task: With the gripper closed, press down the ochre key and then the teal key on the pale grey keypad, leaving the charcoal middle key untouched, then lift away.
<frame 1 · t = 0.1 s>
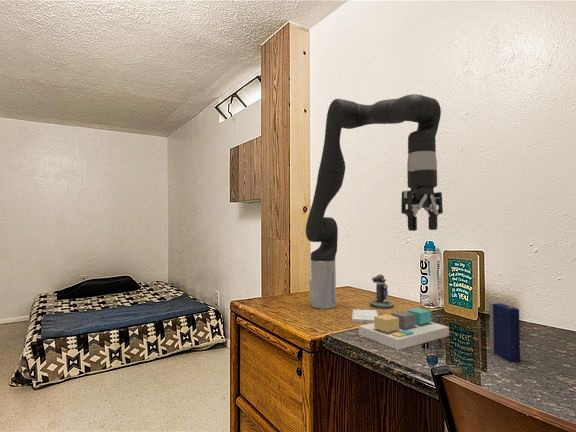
hand: (422, 230, 97), 29 cm above the table, tool pointing down, fingers open, 8 cm apart
key teal: (419, 315, 103), point 4 cm above the table, slide at 0.0 cm
key charcoal: (403, 319, 100), point 4 cm above the table, slide at 0.0 cm
navy blue upright slab: (504, 357, 84), on the table
key ochre: (386, 322, 96), point 4 cm above the table, slide at 0.0 cm
external hard drive: (365, 319, 119), on the table
figurine: (381, 306, 134), on the table
keypad frame: (403, 335, 100), on the table
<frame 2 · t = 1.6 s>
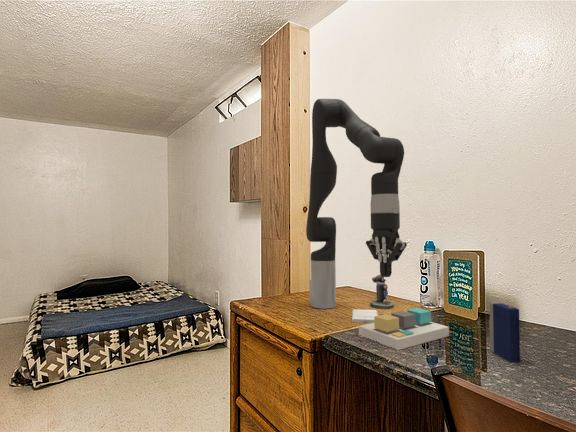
hand: (385, 276, 97), 17 cm above the table, tool pointing down, fingers closed
nothing on the table moved.
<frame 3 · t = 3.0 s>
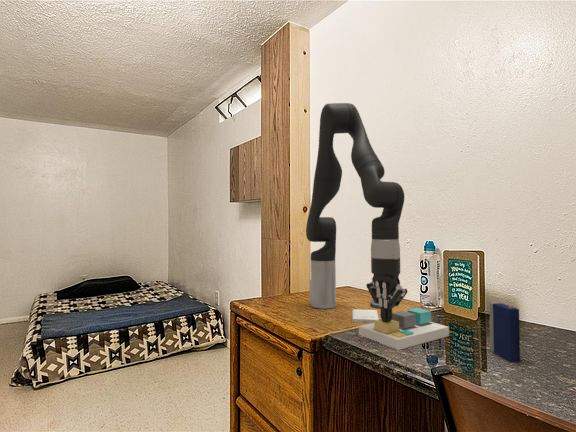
hand: (386, 321, 96), 5 cm above the table, tool pointing down, fingers closed
key ochre: (386, 326, 96), point 3 cm above the table, slide at 1.1 cm, touching gripper
everything else where it was.
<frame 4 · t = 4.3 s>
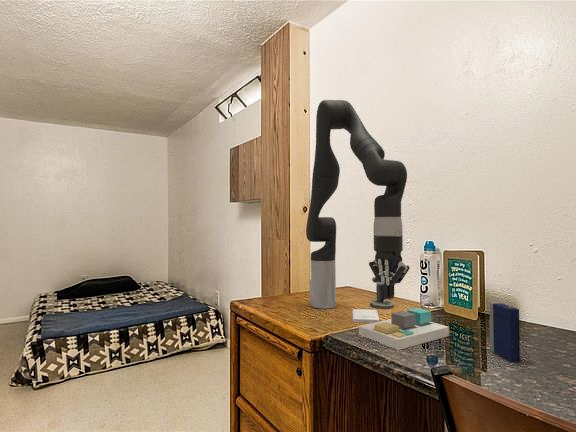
hand: (388, 298, 97), 11 cm above the table, tool pointing down, fingers closed
key ochre: (386, 331, 96), point 2 cm above the table, slide at 2.2 cm
everything else where it was.
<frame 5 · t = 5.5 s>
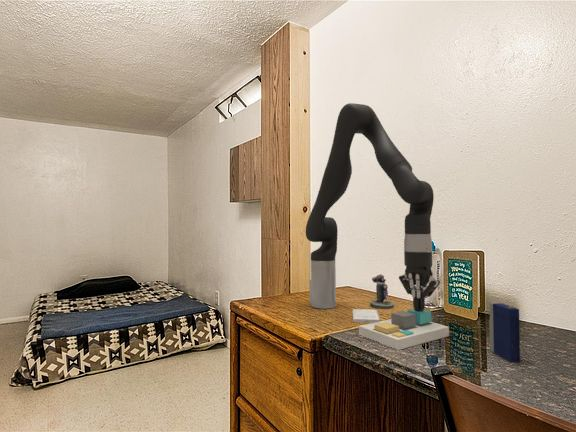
hand: (419, 310, 103), 6 cm above the table, tool pointing down, fingers closed
key teal: (419, 315, 103), point 4 cm above the table, slide at 0.0 cm, touching gripper
everything else where it was.
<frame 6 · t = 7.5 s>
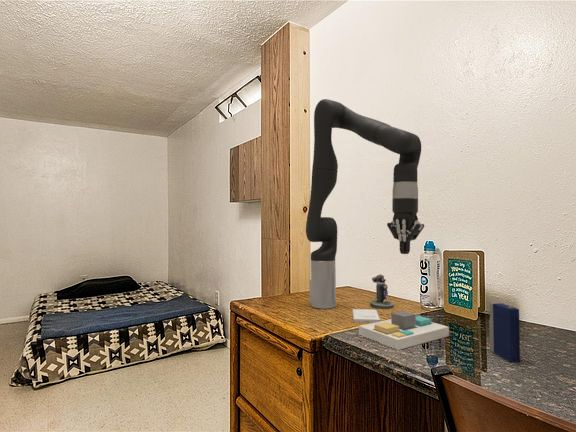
hand: (404, 253, 111), 22 cm above the table, tool pointing down, fingers closed
key teal: (419, 323, 103), point 2 cm above the table, slide at 2.2 cm
everything else where it was.
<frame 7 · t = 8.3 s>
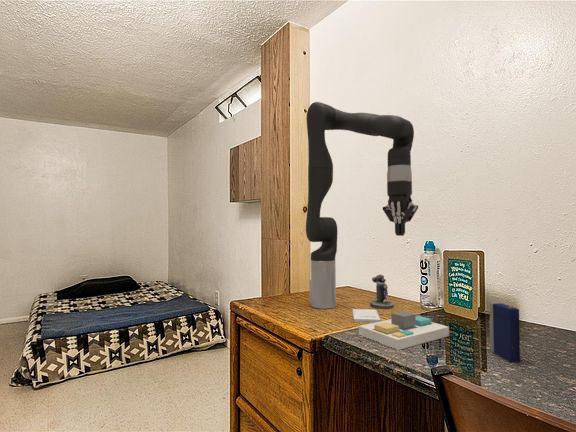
hand: (400, 235, 114), 27 cm above the table, tool pointing down, fingers closed
nothing on the table moved.
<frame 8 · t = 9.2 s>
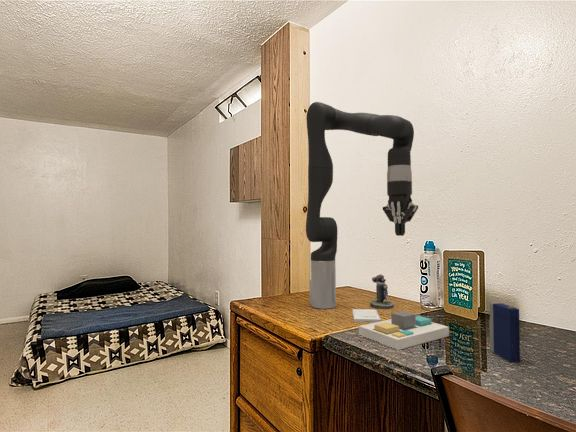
hand: (400, 235, 114), 27 cm above the table, tool pointing down, fingers closed
nothing on the table moved.
at the end: key ochre slide at 2.2 cm; key teal slide at 2.2 cm; key charcoal slide at 0.0 cm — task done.
